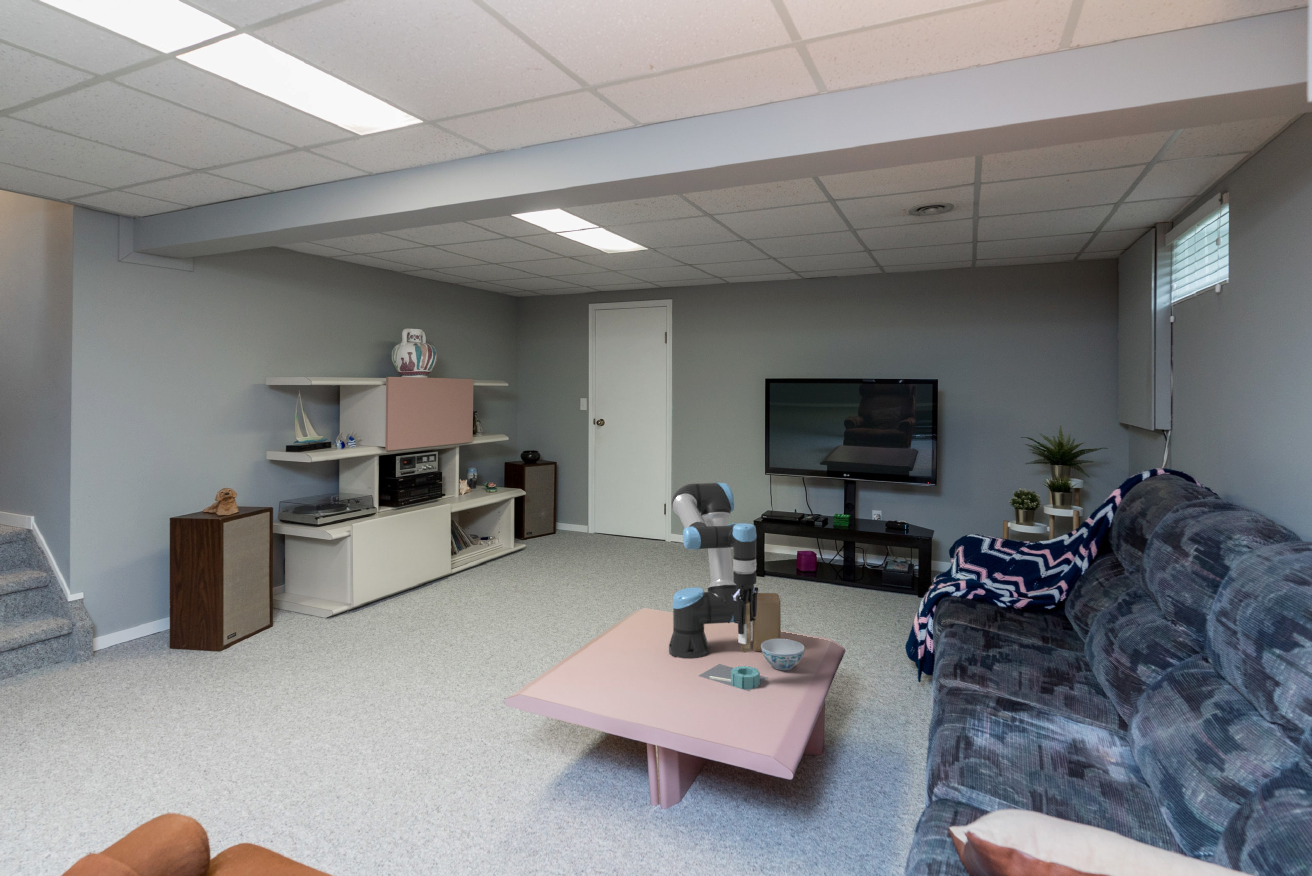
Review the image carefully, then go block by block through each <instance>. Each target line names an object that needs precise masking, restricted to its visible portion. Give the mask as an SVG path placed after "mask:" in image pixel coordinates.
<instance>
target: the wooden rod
mask: <svg viewBox="0 0 1312 876" xmlns="http://www.w3.org/2000/svg"><path fill="white" fill-rule="evenodd" d="M743 601H744V600H743ZM745 624H747V644H742V643H740V651H741V652H743V653H750V652H751V641H750V603H749V601H748V603H747V604H746V615H745Z"/></svg>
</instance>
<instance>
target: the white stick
mask: <svg viewBox="0 0 1312 876" xmlns="http://www.w3.org/2000/svg"><path fill="white" fill-rule="evenodd" d="M709 678H711V679H717V680H723V681H729V682H731V679H725V678H719V677H713V676H710V677H709Z"/></svg>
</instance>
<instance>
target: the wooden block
mask: <svg viewBox="0 0 1312 876" xmlns="http://www.w3.org/2000/svg"><path fill="white" fill-rule="evenodd" d="M753 594H754V593H753ZM781 605H782V604H781V599H780V595H779V593H777V592H758V593H757V612H756V617H754V618H756V620H755V621H752V648H753V651H754V652H761V653H763V652H762V649H761V644H762V643H763V642H764V641H767V640H770V639H782V638H781V637H782V636H781V635H782V634H781V633H782V631H781V628H782V627H781V620H782V619H781V615H782V614H781Z"/></svg>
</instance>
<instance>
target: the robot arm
mask: <svg viewBox="0 0 1312 876" xmlns="http://www.w3.org/2000/svg"><path fill="white" fill-rule="evenodd" d="M671 508H672V511H673V512H674V514H675V515H677V516H678V517H679V520H680V521H681V523H682V526H683V528H684V529H683V531H682V540H683V546H684V548H685V549H687V550H694V551H695V550H696V551H697V550H704V549H705V550H707V551H708V553H707V554H708V562H709V563H708V564H709V575H710V584H709V585H708V586H707V591H704V588H701V587H687V588H681V589H680V590H678V591H676V592H675V593H674V594H673V597H672V609H673V610H672V620H673V621H672V625H673V626H672V627H673V628H672V629H673V630H672V634H671V638H670V641H669V645H668V653H669V655H670V656H672V657H674V658H679V659H685V660H686V659H689V660H690V659H691V660H692V659H699V658H703V657H706V656H707V655H709V653H710V645H709V642H708V639H707V635H706V633H705V625H713V624H731V623H734V624H737V632H738V633H737V634H738V637H737V639H738V641H737V642H738V643H739V644H741V643H742V644H747V624H745V615H746V604H747V603H748V601H749V603H750V642H753V621H755V620H756V618H754V617H756V612H757V593H759V587H757V586H754V585H756V583H757V572H756V571H757V564H758V563H757V537H758V535H757V528H756V525H754V524H750V523H744V522H743V523H742V522H741V523H736V522H735V523H734V522H733V523H730V524H728V523H729V522H728V521H729V520H728V519H729V518H730V517H731V513H732V512H733V511H734V510H735V499H734V494H733V491H732V488H731V487H730V485H729V484H728V483H726V482H718V481H717V482H705V483H704V482H703V483H702V482H701V483H699V482H698V483H689V484H685V485H683V486H681V487H680V488H678V489H677V490H676V491H675V493H674V494H673V496H672V498H671ZM731 548H732V551H733V553H732V552H731ZM731 554H733V556H732V555H731ZM732 558H733V559H732ZM732 560H733V561H732ZM732 562H733V563H732ZM753 593H754V594H753ZM743 600H744V601H743Z"/></svg>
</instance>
